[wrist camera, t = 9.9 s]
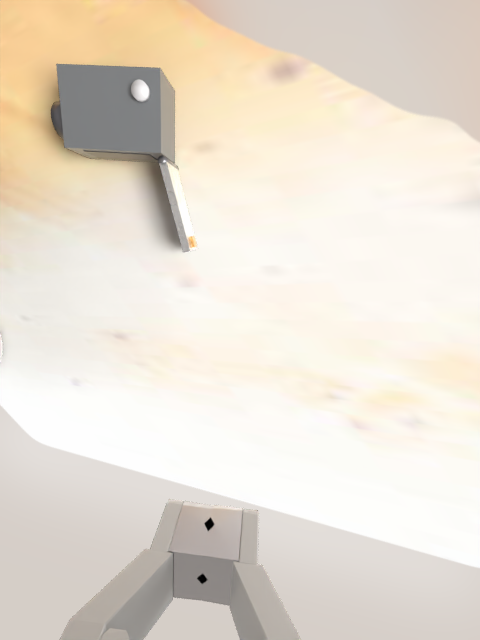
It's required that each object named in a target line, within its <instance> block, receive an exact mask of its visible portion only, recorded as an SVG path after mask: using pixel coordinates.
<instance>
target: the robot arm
mask: <svg viewBox="0 0 480 640" xmlns="http://www.w3.org/2000/svg"><path fill="white" fill-rule="evenodd" d="M2 355H3V343H2V338H1V334H0V362H1V359H2ZM242 513H243V514H242ZM258 533H259V512H258V510H250V509H243V508H237V507H228V506H218V505H206V504H200V503H194V502H188V501H180V500H173V499H169V501H168V502H167V504H166V506H165V509H164V512H163V515H162V517H161V520H160V523H159V526H158V528H157V531H156V534H155V537H154V539H153V542H152V545H151V548H150V549H145V550H144V551H143V552H141V553H140V554H139V555H138V556H137V557H136V558H135V559H134V560H133V561H132V562H131V563H130V564H129V565H127V566H126V567H125V569H123V570H122V571H121V572H120V573H119V574H118V575H117V576H116V577H115V578H114V579H113V580H111V582H110V583H108V584H107V585H106V586H105V587H104V588H103V589H102V590H101V591H100V592H99V593H98V594H96V595H95V596H94V597H93V598H92V599H91V600H90V601H89V602H88V603H87V604H86V605H85V606H84V607H83V608H81V609H80V610H79V611H78V612H77V613H76V614H75V615H74V616H73V617H72V618H71V619H70V620H69V622H68V624H67V626H66V628H65V630H64V632H63V634H62V636H61V638H60V640H143V639H144V638H145V637H146V635H147V634H148V632H149V631H150V630H151V628H152V627H153V626H154V625H155V623H156V622H157V620H158V619H159V618H160V616H161V615H162V614H163V612H164V611H165V610H166V608H167V607H168V606H169V604H170V603H171V601H172V600H173V597H175V598H184V599H193V600H202V601H207V602H213V603H219V604H224V605H229V606H230V610H231V613H232V616H233V620H234V622H235V626H236V629H237V631H238V635H239V637H240V640H301V638H300V636H299V635H298V633H297V631H296V629H295V627H294V625H293V623H292V621H291V619H290V618H289V615H288V613H287V611H286V609H285V608H284V605H283V604H282V602H281V600H280V598H279V596H278V594H277V592H276V590H275V588H274V586H273V584H272V582H271V580H270V578H269V576H268V575H267V573H266V571H265V569H264V567H263V565H259V564H258Z"/></svg>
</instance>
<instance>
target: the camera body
mask: <svg viewBox="0 0 480 640" xmlns="http://www.w3.org/2000/svg"><path fill="white" fill-rule="evenodd" d="M56 65H57V75H58V86H59V96H60V102H54V103H53V105H52V108H51V118H52V122H53V125H54V128H55V130H56V132H57V134H58V135H59V136H60V137H61V138H62V139H63V140H64V148H67V149H69V150H71V151H74V152H76V153H78V154H81V155H83V156H85V157H88V158H90V159H106V160H124V161H141V162H158V158H159V156H161V155H163V156H165V157H166V158H167V159H169V160H170V161H171V162H173V163H175V90H174V89H173V87H172V86H171V84H170V82H169V81H168V79H167V78H166V76H165V75H164V73H163V71H162V70H161V68H149V67H123V66H97V65H72V64H56Z"/></svg>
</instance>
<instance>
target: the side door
mask: <svg viewBox="0 0 480 640" xmlns="http://www.w3.org/2000/svg"><path fill="white" fill-rule="evenodd" d="M158 163H159V165H160V169H161V172H162V176H163V180H164V183H165V187H166V191H167V195H168V198H169V202H170V206H171V209H172V213H173V217H174V221H175V224H176V228H177V232H178V235H179V239H180V243H181V246H182V250H183V252H188V251H192V250H196V249H198V246H197V242H196V238H195V234H194V230H193V226H192V223H191V219H190V215H189V211H188V207H187V203H186V199H185V195H184V191H183V187H182V183H181V179H180V176H179V172H178V166H177V165H175V164H174V163H173V162H171V161H170V160H169V159H167V158H166V157H165V156H163V155H161V156H159V158H158Z"/></svg>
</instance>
